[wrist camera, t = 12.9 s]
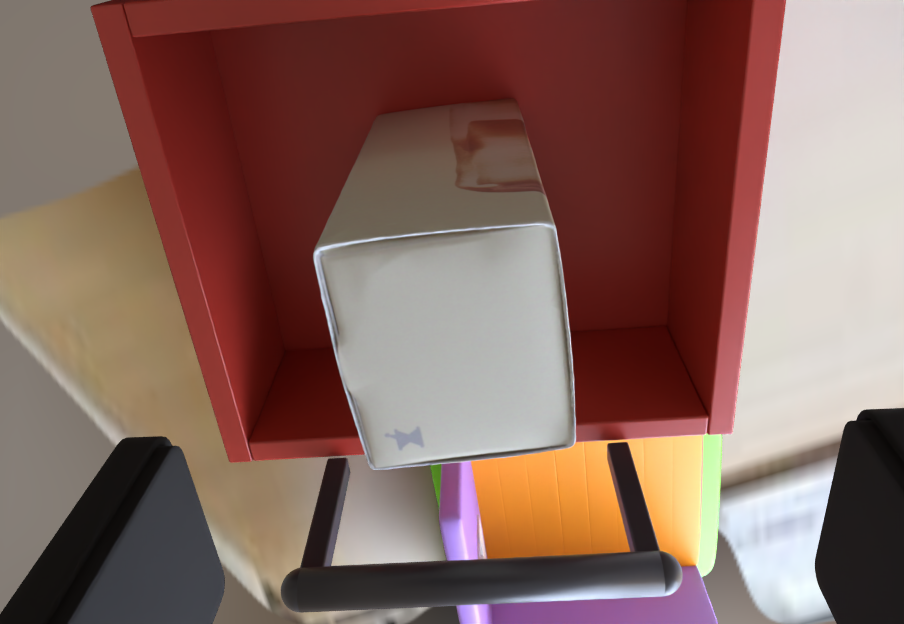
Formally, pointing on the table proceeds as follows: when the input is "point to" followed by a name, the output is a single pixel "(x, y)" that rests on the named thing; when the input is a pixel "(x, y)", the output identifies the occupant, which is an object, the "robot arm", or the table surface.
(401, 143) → the white carton box
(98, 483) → the robot arm
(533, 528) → the miniature room corner
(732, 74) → the cart
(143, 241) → the table surface
